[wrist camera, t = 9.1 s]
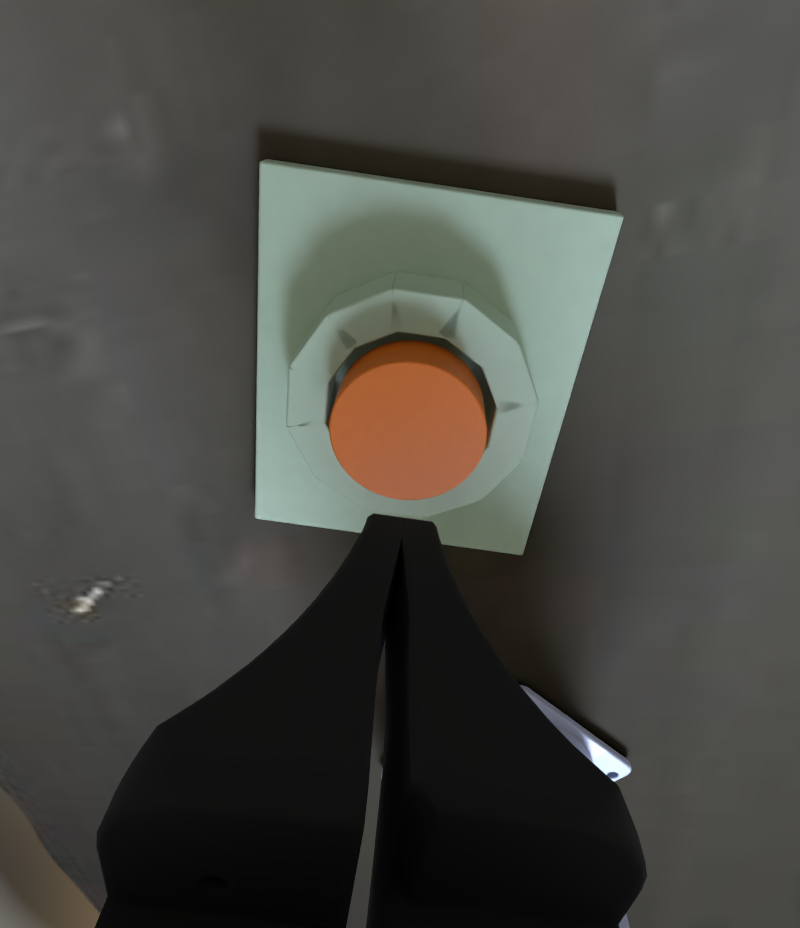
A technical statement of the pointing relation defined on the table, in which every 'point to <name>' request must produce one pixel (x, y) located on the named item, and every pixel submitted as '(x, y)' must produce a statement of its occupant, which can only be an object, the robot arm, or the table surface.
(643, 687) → the table surface
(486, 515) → the button block
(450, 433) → the button
